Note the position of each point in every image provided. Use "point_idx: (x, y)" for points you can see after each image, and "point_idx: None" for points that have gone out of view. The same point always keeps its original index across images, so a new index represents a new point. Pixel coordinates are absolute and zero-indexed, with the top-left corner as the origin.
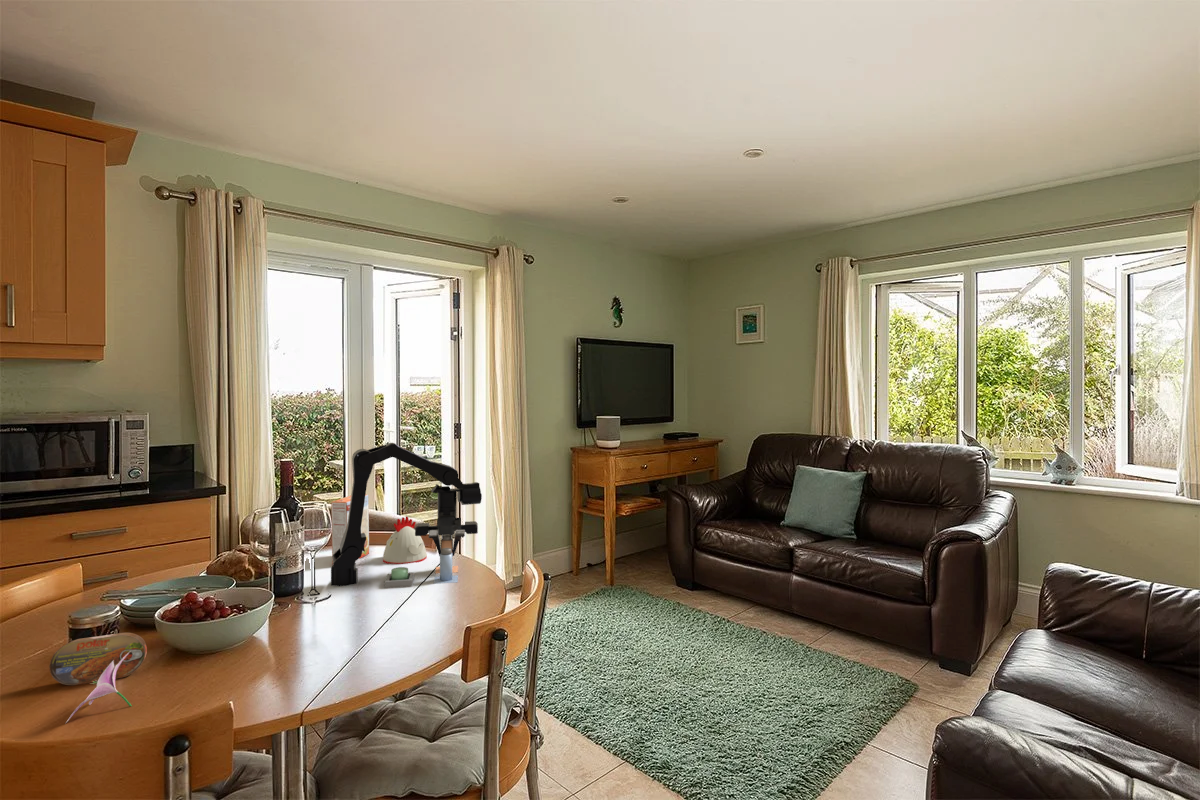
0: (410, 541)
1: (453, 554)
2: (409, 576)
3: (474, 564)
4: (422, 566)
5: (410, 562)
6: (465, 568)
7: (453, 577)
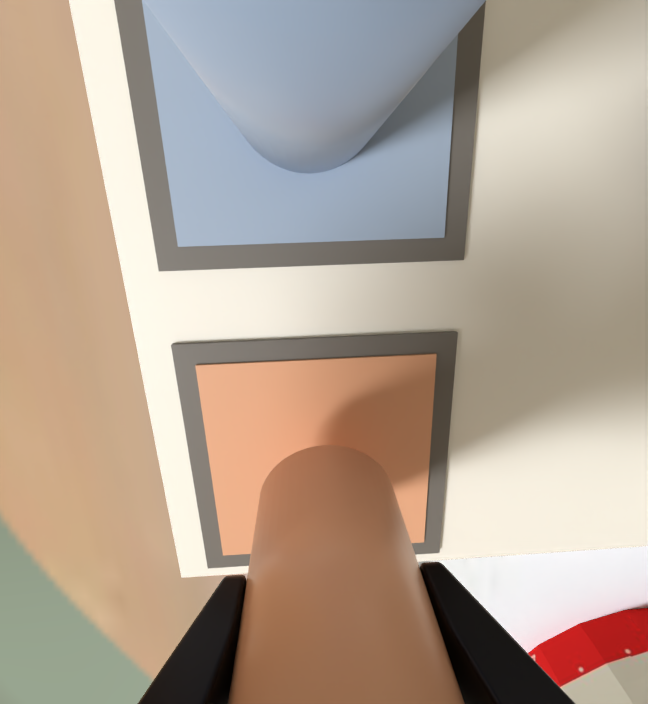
0: None
1: (227, 591)
2: None
3: (114, 635)
4: (513, 620)
5: (623, 652)
6: (171, 553)
7: (219, 156)
